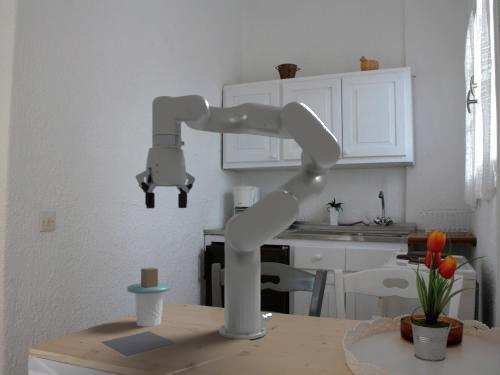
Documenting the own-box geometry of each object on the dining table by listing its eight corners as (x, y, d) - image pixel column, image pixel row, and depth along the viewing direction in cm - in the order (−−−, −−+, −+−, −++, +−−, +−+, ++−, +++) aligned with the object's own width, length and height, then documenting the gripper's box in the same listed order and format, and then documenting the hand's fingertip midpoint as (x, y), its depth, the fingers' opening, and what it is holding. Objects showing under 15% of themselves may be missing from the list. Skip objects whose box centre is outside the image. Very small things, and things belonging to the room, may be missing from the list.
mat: (148, 333, 111) (148, 331, 111) (176, 344, 101) (176, 342, 101) (101, 344, 102) (101, 341, 102) (126, 358, 92) (126, 355, 92)
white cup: (156, 329, 114) (156, 292, 114) (129, 327, 115) (129, 291, 116) (167, 321, 121) (167, 287, 122) (142, 320, 123) (142, 286, 124)
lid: (157, 283, 127) (157, 264, 128) (178, 289, 119) (179, 268, 119) (119, 289, 119) (120, 268, 119) (140, 295, 110) (140, 273, 111)
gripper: (186, 148, 120) (186, 208, 119) (129, 142, 108) (129, 208, 107) (201, 145, 114) (202, 207, 113) (143, 138, 103) (143, 208, 102)
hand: (166, 208), depth 110 cm, fingers open, 9 cm apart
